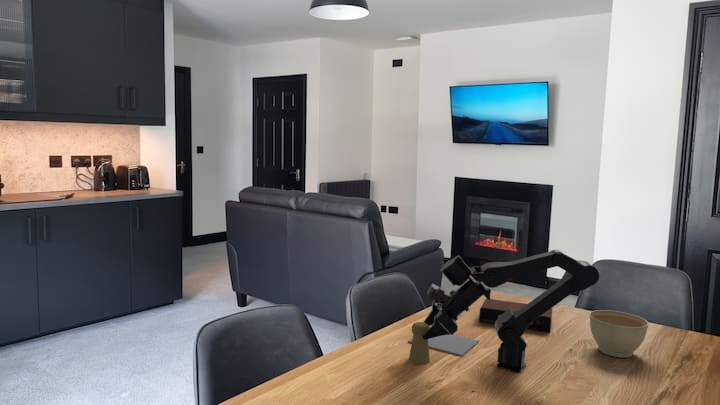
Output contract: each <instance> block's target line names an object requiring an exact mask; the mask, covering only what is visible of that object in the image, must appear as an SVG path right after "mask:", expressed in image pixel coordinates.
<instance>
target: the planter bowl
mask: <svg viewBox="0 0 720 405" xmlns="http://www.w3.org/2000/svg"><path fill="white" fill-rule="evenodd" d="M589 328H590V331H591V334H592V337H593V339H594V341H595V343H596V345H597V348H598V351H600V352H601V353H603V354H605V355H607V356H611V357H614V358H615V357H616V358H631V357H632V356H633V355H634V353H635V351H637V349H639V348H640V346H641V345H642V344H643V343H644V340H645V339H646V336H647V331H648V328H649V321H647V320H646V319H645V318H643V317H641V316H638V315H636V314H632V313H628V312H623V311H618V310H611V309H610V310H608V309H607V310H606V309H605V310H604V309H598V310H592V311H591V312H589Z"/></svg>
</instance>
